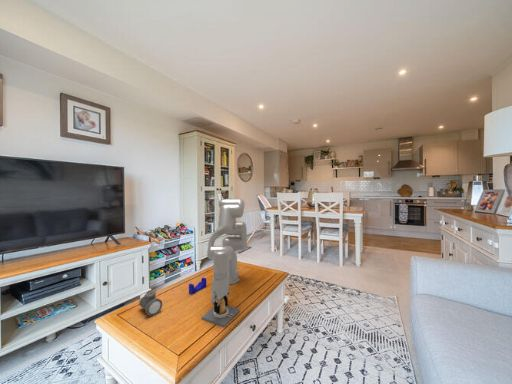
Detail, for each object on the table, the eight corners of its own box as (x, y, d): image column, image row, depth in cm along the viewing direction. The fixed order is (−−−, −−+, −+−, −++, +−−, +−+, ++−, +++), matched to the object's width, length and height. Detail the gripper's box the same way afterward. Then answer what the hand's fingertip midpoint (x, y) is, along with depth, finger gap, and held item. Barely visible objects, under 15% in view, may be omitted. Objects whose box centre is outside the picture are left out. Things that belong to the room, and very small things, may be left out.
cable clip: (201, 285, 137) (201, 276, 137) (206, 287, 135) (206, 278, 135) (187, 293, 127) (187, 283, 127) (191, 295, 125) (191, 285, 125)
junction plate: (218, 304, 113) (218, 301, 113) (239, 311, 107) (239, 307, 107) (201, 319, 101) (201, 315, 101) (224, 327, 95) (224, 323, 95)
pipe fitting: (163, 311, 107) (162, 292, 107) (147, 319, 101) (147, 299, 101) (152, 304, 115) (151, 286, 114) (136, 311, 108) (136, 292, 108)
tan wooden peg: (220, 309, 107) (220, 295, 107) (226, 311, 105) (226, 297, 105) (215, 314, 103) (215, 299, 103) (222, 316, 101) (222, 301, 101)
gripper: (224, 267, 113) (224, 298, 113) (204, 279, 98) (204, 316, 98) (235, 269, 110) (236, 302, 110) (216, 282, 94) (216, 320, 95)
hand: (221, 308), depth 104 cm, fingers open, 6 cm apart
